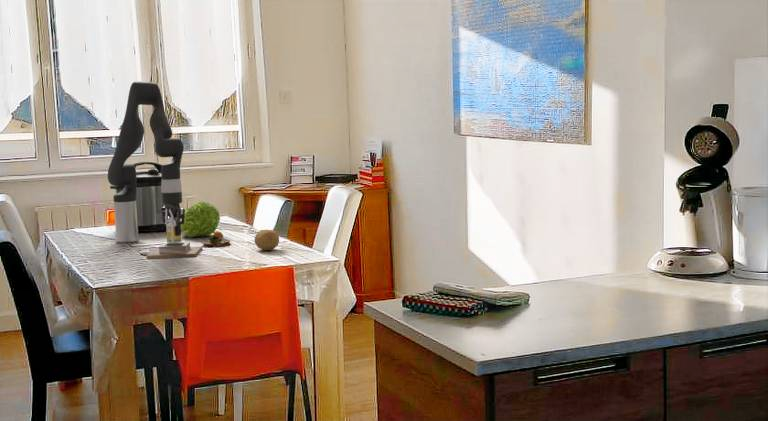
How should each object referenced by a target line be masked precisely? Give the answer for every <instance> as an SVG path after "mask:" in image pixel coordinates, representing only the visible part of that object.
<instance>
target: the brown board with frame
mask: <svg viewBox="0 0 768 421" xmlns="http://www.w3.org/2000/svg"><path fill="white" fill-rule="evenodd" d="M202 250H203V246H191V242H190V241H188V242H187V241H183V242H182V241H181V242H180V243H167V242H163V243H162V244H161V245H159V246H158V247H156V248H154V249H153V250H152V251H151V252H149V253H148V254H146V259H147V260H151V259H152V260H153V259H172V258H173V259H174V258H175V259H177V258H196V257H197V256H198V255H199V253H201V251H202Z"/></svg>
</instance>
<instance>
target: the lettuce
mask: <svg viewBox="0 0 768 421" xmlns="http://www.w3.org/2000/svg"><path fill="white" fill-rule="evenodd" d="M181 221H182V219H181ZM220 221H221V218H220V212H219V210H218V209H217V207H216V206H215V205H213V204H211V203H208V202H205V201H199V202H196V203H195V204H193V205H191V206H190V207H188V208H187V209H185V217H184V224H182V225H181V233H182V234H183V235H184V236H186V237H189V238H196V237H205V236H210V235H213V234H214V232H215V231H216V230H217V229H218V226H219V223H220Z"/></svg>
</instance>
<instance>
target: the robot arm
mask: <svg viewBox="0 0 768 421" xmlns="http://www.w3.org/2000/svg"><path fill="white" fill-rule="evenodd" d="M129 87H130V88H129V92H128V97H127V104H126V110H125V113H124V118H123V121H122V124H121V127H120V131H119V136H118V138H117V139H118V140H117V143H116V148H115V150H114V154H113V156H112V158H111V161H110V164H109V166H108V168H107V169H108V170H107V180H108V183H109V184H110V186H114V185H115V186H119V185H125V187H124V189H123V190H122V191H121V192H119V193H117V194H116V193H115V194H114V195H113V212H114V225H115V227H114V228H115V242H116V243H133V242H138V241H140V240H139V231H138V221H137V205H136V194H137V188H136V172H137V169H136V168H135V166H134V165H133V164H134V163H132V162H127V160H128V159H129V158H130V157H131V156H132V155H134V153H136V152H137V150H138V149H139V148H140V146H141V145H142V141H143V138H144V134H145V127H144V124H143V122H142V120H141V118H140V116H139V112H138V108H139V106H143V105H144V106H146V105H147V106H152V107H153V111H152V113H151V115H150V116H149V117H150V118H149V126H150V129H151V132H152V135H153V138H154V152H155V154H156V155H157V156H158V157H160V158H171V160H170V161H169V162H166V163H163V164H161V165H162V166H161V179H162V182H161V191H162V203H163V204H165V207H163V208H161V213H162V220H163V223H165V224H166V225H167V223H169V222H168V218H170V217H171V218H172V220H173V221H174V224H175V235H176V236H180V235H181V236H182V231H181V225H182V224H184V217H185V210H186V209H185V208H181V206H180V204H182V203H183V191H182V190H183V189H182V187H183V186H182V182H181V181H182V180H181V165H182V164H181V163H182V157H183V153H184V149H185V148H184V147H185V146H184V143H183V141H182V140H181V139H180V138H178V137H174V138H173V129H172V127H171V125H170V122H169V120H168V118H167V115H166V111H165V107H164V106H165V105H164V101H163V98H162V92H161V90H160V87H159V85H158V84H157V83H156V82H154V81H139V80H138V81H137V80H136V81H133V82H132V83H131V85H130V86H129ZM126 162H127V163H126ZM176 217H177V218H176ZM165 219H166V220H165ZM176 220H177V221H176ZM181 220H182V221H181Z"/></svg>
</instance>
